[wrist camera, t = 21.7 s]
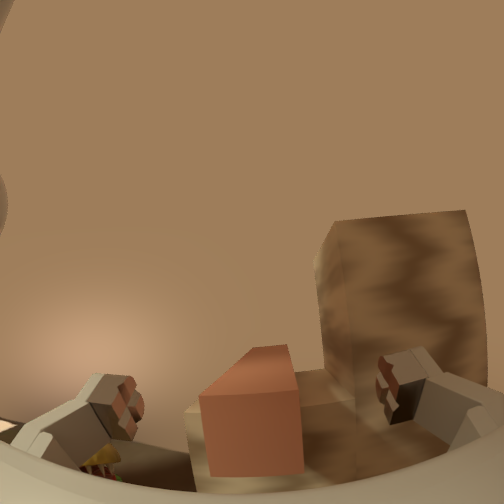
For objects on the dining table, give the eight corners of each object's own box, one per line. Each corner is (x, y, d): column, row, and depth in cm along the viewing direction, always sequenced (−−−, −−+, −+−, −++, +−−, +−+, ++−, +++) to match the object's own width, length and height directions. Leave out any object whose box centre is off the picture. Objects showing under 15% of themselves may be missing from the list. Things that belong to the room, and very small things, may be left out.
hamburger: (77, 541, 12) (38, 434, 15) (64, 506, 18) (35, 412, 20) (149, 528, 18) (122, 428, 20) (124, 498, 23) (102, 409, 26)
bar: (210, 476, 8) (198, 395, 8) (255, 380, 25) (252, 347, 26) (304, 473, 7) (298, 389, 8) (289, 376, 25) (286, 344, 26)
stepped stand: (217, 572, 12) (169, 240, 18) (237, 504, 24) (211, 272, 30) (463, 524, 11) (465, 209, 17) (415, 475, 22) (404, 250, 28)
